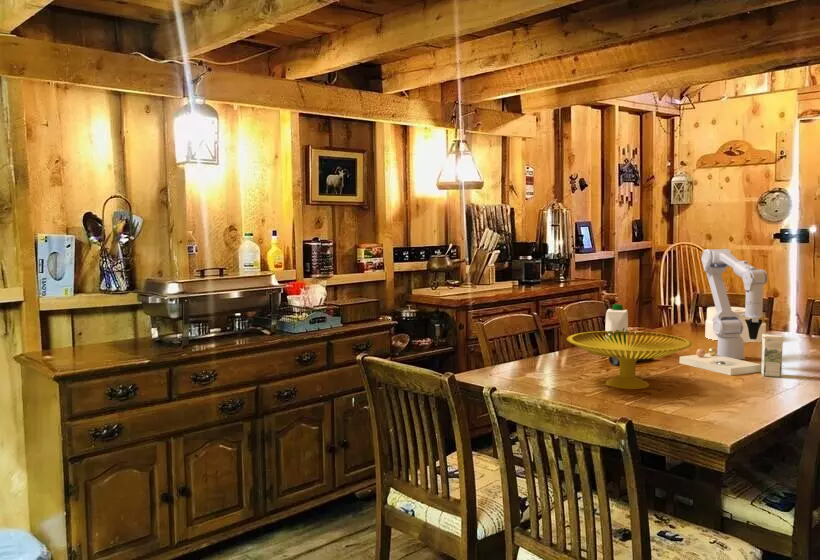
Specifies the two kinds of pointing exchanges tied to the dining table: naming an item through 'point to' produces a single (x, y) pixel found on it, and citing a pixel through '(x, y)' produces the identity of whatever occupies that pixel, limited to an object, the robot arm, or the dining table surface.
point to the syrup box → (771, 355)
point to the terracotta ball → (700, 352)
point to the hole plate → (729, 368)
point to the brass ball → (712, 351)
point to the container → (739, 310)
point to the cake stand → (628, 352)
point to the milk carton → (616, 321)
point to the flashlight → (616, 362)
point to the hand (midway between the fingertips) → (753, 339)
